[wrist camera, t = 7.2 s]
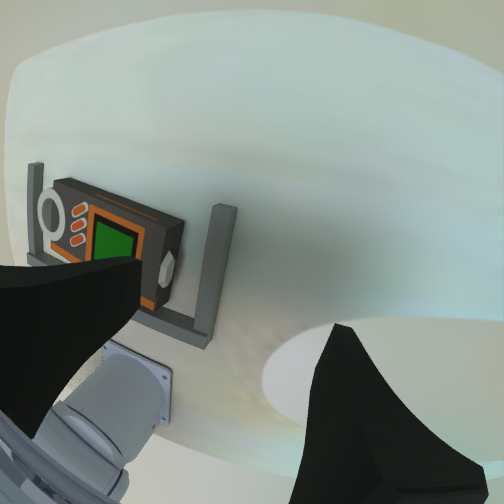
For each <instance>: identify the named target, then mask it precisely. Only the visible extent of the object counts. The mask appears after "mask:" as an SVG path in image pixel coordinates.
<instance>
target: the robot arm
mask: <svg viewBox="0 0 504 504" xmlns="http://www.w3.org/2000/svg"><path fill="white" fill-rule="evenodd" d="M141 279H142V260H140V259H137V258H134V257H132V256H117V257H109V258H102V259H96V260H90V261H83V262H76V263H68V264H61V265H51V266H33V267H24V266H2V265H0V439H1V441H0V504H120V503H119V502H120V500H121V499H122V497H123V496H124V494H125V492H126V490H127V488H128V486H129V477H128V476H129V474H128V472H127V471H126V470H125V469H123V467H124V466H125V464H127V463H129V462H131V461H132V460H134V459H135V458H136V457H137V455H138V454H139V452H140V451H141V449H142V448H143V447H144V445H145V444H146V442H147V441H148V439H149V438H150V436H151V435H152V433H153V432H154V430H155V429H156V427H157V426H158V425H159V424H161V425H163V426H168V425H169V414H170V391H171V371H170V370H169V369H168V368H166V367H164V366H161V365H159V364H157V363H155V362H153V361H150V360H148V359H146V358H144V357H142V356H140V355H138V354H136V353H134V352H132V351H130V350H128V349H126V348H124V347H122V346H120V345H118V344H116V343H114V342H112V341H110V340H109V339H111V338H112V337H113V336H114V335H115V334H116V333H117V332H118V331H119V330H120V329H121V328H123V327H124V326H125V325H126V324H127V323H128V321H129V320H130V319H131V318H132V317H133V315H134V314H135V313H136V311H137V310H138V309H139V308H140V304H141ZM101 347H102V354H103V362H104V363H102V364H101V365H100V366H99V367H98V368H97V369H96V370H95V371H94V372H93V373H92V374H91V375H90V376H89V377H88V378H87V379H86V380H85V381H84V382H82V383H81V384H80V385H79V386H78V387H77V388H76V389H75V390H74V391H73V392H72V393H71V394H70V395H69V396H68V397H67V398H66V399H65V400H64V401H63V402H62V401H61V400H60V401H58V402H57V403H56V404H55V405H54V406H52V405H53V403H54V402H55V400H56V399H57V397H58V396H59V394H60V393H61V391H62V390H63V389H64V387H65V386H66V385H67V383H68V382H69V381H70V379H71V378H72V377H73V376H74V375H75V373H76V372H77V371H78V370H79V369H80V367H81V366H82V365H83V364H84V363H85V362H86V361H87V360H88V359H89V358H90V357H91V356H92V355H93V354H94V353H95V352H96V351H97V350H98V349H99V348H101ZM41 478H42V479H43V480H44V481H45V482H44V481H43V480H42V479H41ZM50 486H51V487H52V488H51V487H50ZM57 492H58V493H57ZM488 495H489V494H488V488H487V484H486V478H485V474H484V470H483V467H482V466H480V465H478V464H477V463H475V462H473V461H471V460H470V459H468V458H467V457H465V456H463V455H462V454H460V453H459V452H457V451H456V450H454V449H453V448H452V447H450V446H449V445H448V444H446V443H445V442H444V441H442V440H441V439H440V438H439V437H437V436H436V435H435V434H434V433H433V432H432V431H430V430H429V429H428V428H427V427H426V426H425V425H424V424H423V423H422V422H421V421H420V420H419V419H418V418H416V416H415V415H414V414H413V413H412V412H411V411H410V410H409V409H408V408H407V407H406V406H405V405H404V403H403V402H402V401H401V400H400V399H399V398H398V397H397V395H396V394H395V393H394V392H393V390H392V389H391V388H390V386H389V385H388V383H387V382H386V381H385V379H384V378H383V376H382V375H381V374H380V372H379V371H378V369H377V368H376V366H375V365H374V363H373V362H372V360H371V358H370V357H369V355H368V353H367V352H366V350H365V348H364V347H363V345H362V343H361V342H360V340H359V338H358V337H357V335H356V333H355V332H354V330H353V329H352V328H351V327H347V326H343V325H340V324H336V323H335V324H334V327H333V329H332V331H331V334H330V336H329V339H328V341H327V343H326V346H325V348H324V350H323V352H322V354H321V356H320V359H319V361H318V363H317V365H316V367H315V371H314V376H313V380H312V385H311V390H310V398H309V408H308V418H307V427H306V436H305V445H304V450H303V456H302V460H301V464H300V467H299V471H298V475H297V479H296V482H295V485H294V489H293V492H292V495H291V499H290V501H289V504H484V502H485V501H486V499H487V497H488ZM62 496H63V497H64V498H63V497H62Z"/></svg>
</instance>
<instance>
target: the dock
mask: <svg viewBox="0 0 504 504" xmlns="http://www.w3.org/2000/svg"><path fill="white" fill-rule="evenodd" d="M42 181H43V163H38V162H37V163H30V164H28V181H27V222H28V241H29V252H28V253H27V262H28V264H29V265H31V266H32V267H33V266H51V265H61V264H66V263H64V262H62V261H60V260H58V259H56V258H54V257H52V256H50V255H48V254H46V253H45V252H43V238H42V228H41V226H40V223H39V219H38V200H39V197H40V195H41V193H42ZM236 211H237V208H236V207H232V206H229V205H225V204H221V203H219V204H217V205H214V206H213V208H212V213H211V219H210V224H209V230H208V236H207V242H206V248H205V254H204V260H203V266H202V272H201V279H200V285H199V292H198V299H197V306H196V313H195V319H193V318H190V317H187V316H185V315H182V314H180V313H177V312H174V311H172V310H169V309H167V308H164V307H160V308H159V309H158V310H157V311H155V312H154V311H152V310H150V309H149V308H147V307H145V306H143V305H141V304H140V308H139V309H138V310H137V311H136V313H135V314H134V315H133V317H132V318H131V319H132V320H134V321H136V322H138V323H141V324H143V325H145V326H147V327H150V328H152V329H154V330H156V331H159V332H161V333H163V334H166V335H168V336H171V337H173V338H175V339H178V340H180V341H183V342H185V343H188V344H190V345H193V346H195V347H198V348H201V349H203V350H204V349H205V348H206V346H207V345H208V343H209V342H210V340H211V339H212V335H213V330H214V324H215V319H216V313H217V308H218V303H219V297H220V292H221V287H222V282H223V276H224V271H225V266H226V261H227V256H228V251H229V246H230V241H231V236H232V231H233V226H234V221H235V216H236Z"/></svg>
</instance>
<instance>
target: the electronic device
mask: <svg viewBox="0 0 504 504" xmlns="http://www.w3.org/2000/svg"><path fill="white" fill-rule="evenodd" d="M38 219H39V223H40V226H41V228H42V231H43V232H44V234H45V235H46V237H47V238H49V239H50V240H51V249H52V250H54V251H55V252H57V253H58V254H60V255H61V256H63V257H64V258H66V259H67V260H69V261H70V262H72V263H76V262H83V261H90V260H96V259H102V258H109V257H117V256H132V257H134V258H137V259H140V260H142V279H141V305H143V306H145V307H147V308H149V309H150V310H152V311H154V312H155V311H157V310H158V309H159V308H160V307H162V306H163V305H164V304H165V303H167V302H168V299H169V293H170V288H171V282H172V277H173V272H174V267H175V262H176V257H177V252H178V247H179V242H180V237H181V233H182V228H183V224H184V221H182V220H179V219H177V218H174V217H172V216H169V215H167V214H164V213H162V212H159V211H156V210H154V209H151V208H149V207H146V206H144V205H141V204H139V203H136V202H134V201H131V200H129V199H126V198H124V197H121V196H119V195H116V194H113V193H110V192H108V191H105V190H102V189H100V188H97V187H94V186H91V185H89V184H86V183H83V182H80V181H78V180H75V179H72V178H64V179H58V180H54V184H53V187H52V188H47V189H45V190H43V191H42V193H41V195H40V197H39V200H38Z"/></svg>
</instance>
